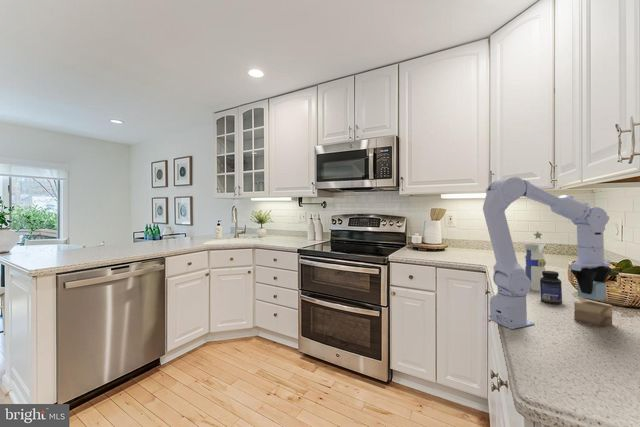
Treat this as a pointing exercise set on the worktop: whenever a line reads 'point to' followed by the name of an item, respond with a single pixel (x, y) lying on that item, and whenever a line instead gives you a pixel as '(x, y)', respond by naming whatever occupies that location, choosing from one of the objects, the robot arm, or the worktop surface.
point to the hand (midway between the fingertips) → (591, 292)
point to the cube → (595, 291)
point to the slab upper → (593, 308)
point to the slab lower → (593, 320)
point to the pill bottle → (551, 287)
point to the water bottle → (535, 262)
